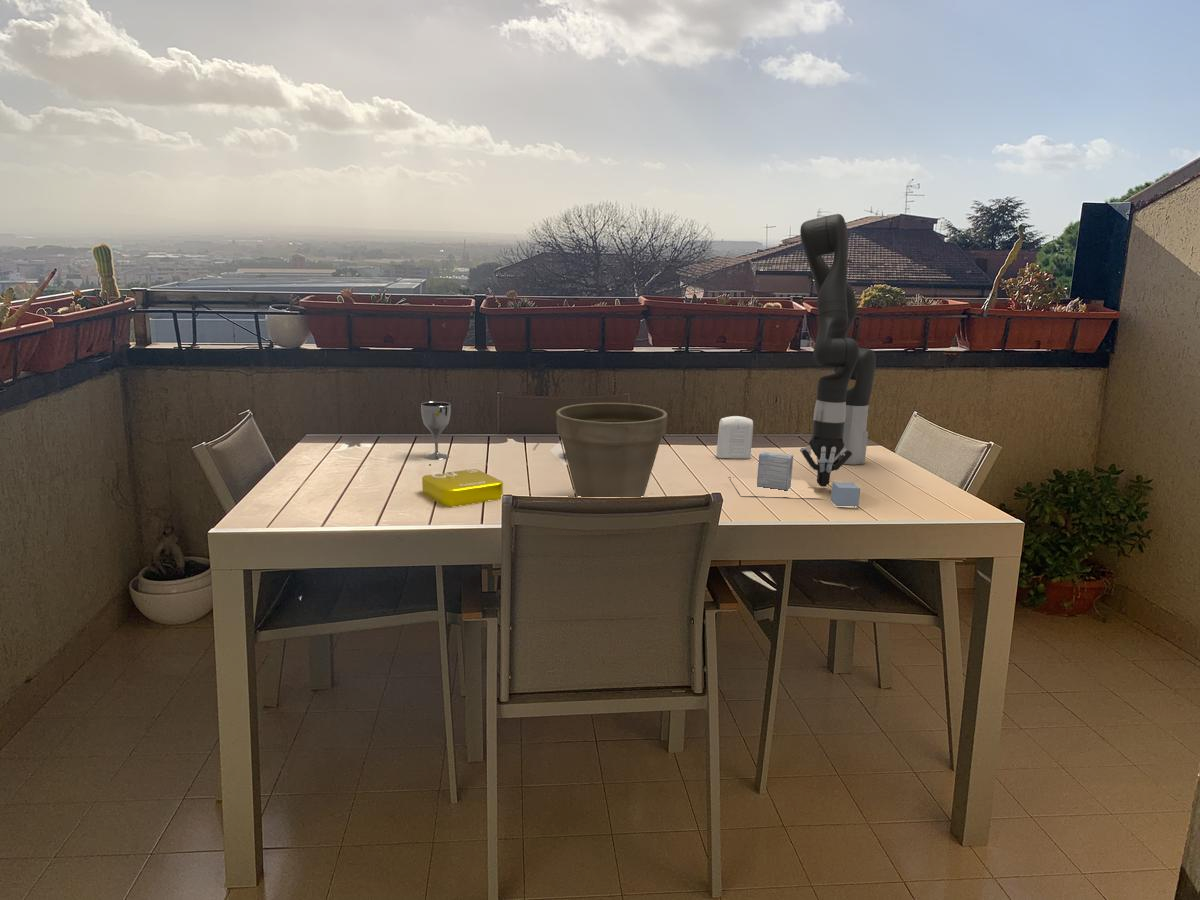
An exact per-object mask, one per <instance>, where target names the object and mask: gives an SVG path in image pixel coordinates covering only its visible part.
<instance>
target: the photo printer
mask: <svg viewBox="0 0 1200 900" xmlns="http://www.w3.org/2000/svg"><path fill="white" fill-rule="evenodd" d="M717 431H718V432H717V445H716V458H718V459H747V460H749V459H751V455H752V446H753V445H752V444H753V443H752V442H753V435H754V434H753V433H754V421H753V419H751V418H749V417H745V416H739V415H732V416H730V415H729V416H726V417H722V418H720V420H719V424H718V430H717Z"/></svg>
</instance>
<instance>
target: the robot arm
mask: <svg viewBox="0 0 1200 900" xmlns="http://www.w3.org/2000/svg"><path fill="white" fill-rule="evenodd" d="M847 226H848V225H847V223H846V219H845V218H844V216H843V215H842V214H840V213H835V214H829V215H825V216H822V217H816V218H814V219H813V218H812V219H810V220H809V219H808V220H806V221H804V222H803V223H802V224H801V225H800V229H799V232H800V233H799V234H800V239H801V244H802V247H803V251H804V254H805V257H806V260H807V263H808V266H809V268H810V271H811V274H812V278H813V282H814V285H815V289H816V294H817V303H816V304H817V305H816V306H817V317H818V320H817V321H818V326H817V334H816V338H815V343H814V346H813V360H814V362H815V363H816V364H817V365H818V366H820V367H832V369H833V371H834V373H833V374H829V375H823V376H821V377H820V378H819V379H818V381H817V382H818V383H817V391H816V400H815V406H814V410H813V420H812V432H811V438H810V440H809V442H808V445H807V446H805V447H802V448H800V449H799V451H800V453H801V455H802V456H803V457H804V459H805V460H806V462H807V463H808V464H809V466H810V468H812V470H814V471H816V472H817V473H816V474H817V475H816V483H817V484H818V485H819V487H825V488H826V487H827V485H829V484H830V480H831V479H830V478H831V473H832V472H833V471H839V469H840V468H841V467H842V466H843V465H853V466H854V465H861V464H862V465H864V464H866V463H865V462H866V454H867V445H868V437H869V432H868V430H867V424H868V423H867V422H868V414H869V406H870V405H869V404H870V399H871V397H872V396H871V394H872V390H873V384H874V377H875V372H876V365H877V357H876V356H877V355H876V353H875V351H874V349H871V348H863V347H859V345H858V342H857V341H856V340H855V339H854V338H852V337H847V334H848V332H849V330H850V329H851V327H852V325H853V323H854V321H855V320H856V317H857V314H858V306H857V300H856V295H855V292H854V289H853V287H852V286H851V284H850V283H849V282H848V281H847V278H848V277H847V276H848V259H849V258H848V256H849V253H848V252H849V236H848V235H849V234H848V227H847ZM832 253H834V255H833V260H832V265H831V267H830V266H829V265H828V264H827V262H826V260H825V259H824V257H823V256H824V255H829V254H832ZM850 380H851V381H855V382H854V386H853V387H851V388H850V389H848V387H849V383H850ZM812 453H813V455H815V456H816V462H815V461H814V459H813V457H811V455H812Z"/></svg>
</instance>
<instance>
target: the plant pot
mask: <svg viewBox="0 0 1200 900" xmlns="http://www.w3.org/2000/svg"><path fill="white" fill-rule="evenodd" d="M555 417H556V419H555V420H556V432H557V434H558V435H559V436H560V437H561V441H562V445H563V449H564V452H565V453H564V454H565V457H566V460H567V461H566V462H567V463H568V464H567V465H568V469H569V473H570V477H571V480H572V484H573V488H574V491H575V495H576V497H577V496H581V497H641V496H644V497H645V493H646V490H647V487H648V483H649V480H650V477H651V474H652V471H653V467H654V464H655V460H656V458H657V454H658V450H659V447H660V444H661V439H662V438H663V437H664V436H665V435H666V431H667V422H668V413H667V411H665V410H664V409H661V408H658V407H654V406H653V405H652V406H651V405H645V404H637V403H625V402H589V403H577V404H572V405H567V406H563V407H561V408H559V409H557V410H556V412H555Z"/></svg>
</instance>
